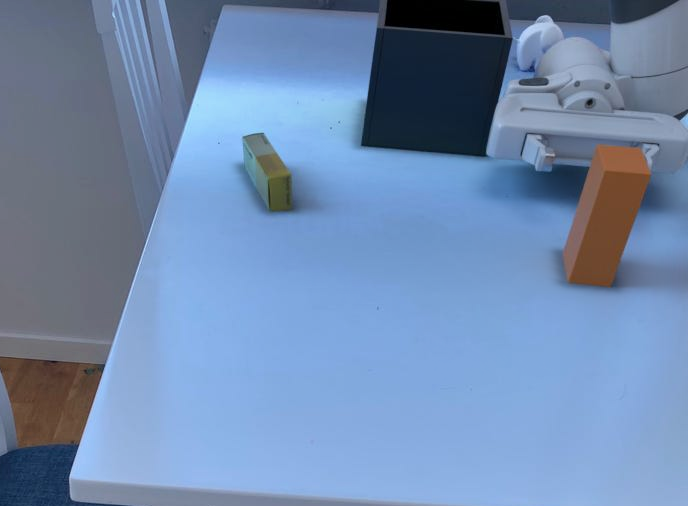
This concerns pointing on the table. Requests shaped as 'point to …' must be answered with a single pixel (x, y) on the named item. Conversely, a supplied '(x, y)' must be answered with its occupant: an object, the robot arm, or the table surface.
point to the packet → (605, 214)
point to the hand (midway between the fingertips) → (594, 167)
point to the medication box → (267, 172)
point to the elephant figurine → (537, 42)
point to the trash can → (436, 75)
